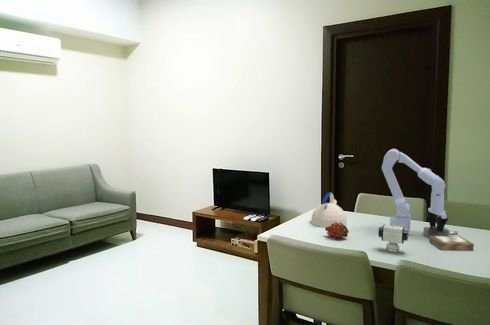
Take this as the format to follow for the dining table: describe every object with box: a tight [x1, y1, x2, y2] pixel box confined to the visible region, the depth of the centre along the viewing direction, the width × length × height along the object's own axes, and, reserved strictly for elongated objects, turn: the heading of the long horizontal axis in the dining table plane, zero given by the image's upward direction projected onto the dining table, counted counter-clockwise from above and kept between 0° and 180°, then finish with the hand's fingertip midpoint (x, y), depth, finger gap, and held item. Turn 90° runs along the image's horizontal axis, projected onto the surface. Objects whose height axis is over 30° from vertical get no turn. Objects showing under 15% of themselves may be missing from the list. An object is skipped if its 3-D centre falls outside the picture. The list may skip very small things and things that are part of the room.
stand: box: [428, 235, 475, 251], centre depth 159 cm, size 14×11×3 cm
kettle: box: [310, 192, 348, 228], centre depth 198 cm, size 20×21×18 cm
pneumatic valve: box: [378, 224, 409, 253], centre depth 153 cm, size 6×12×12 cm, turn 60°
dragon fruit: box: [324, 222, 349, 240], centre depth 172 cm, size 8×8×12 cm
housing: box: [422, 225, 450, 239], centre depth 173 cm, size 10×5×5 cm, turn 87°
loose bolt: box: [449, 230, 459, 236], centre depth 176 cm, size 7×2×2 cm, turn 106°
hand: (436, 229), depth 173 cm, fingers open, 7 cm apart
